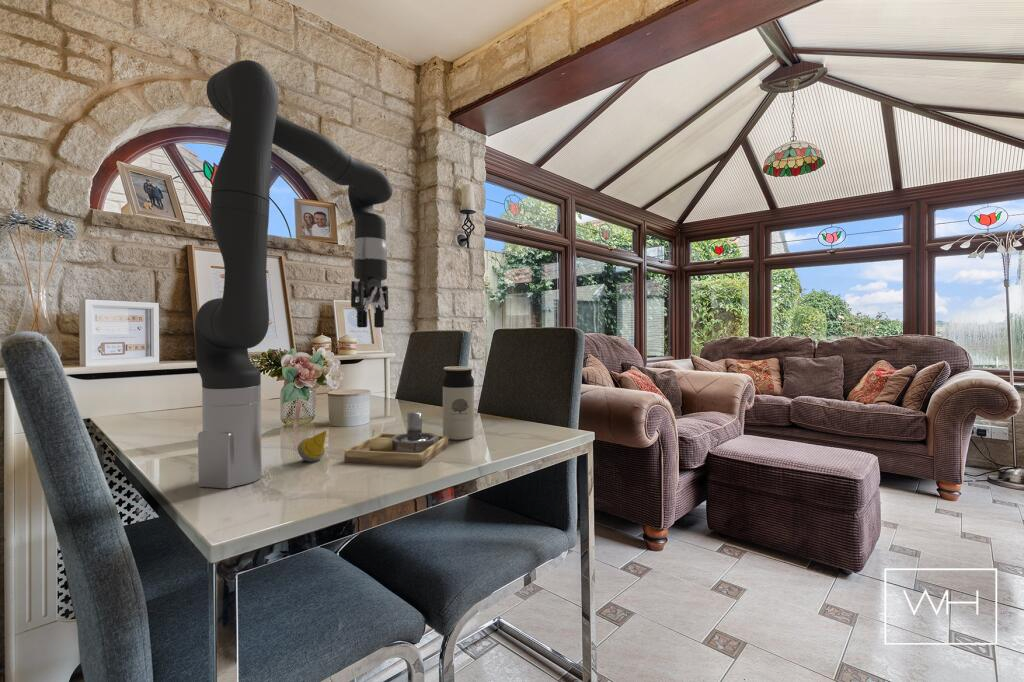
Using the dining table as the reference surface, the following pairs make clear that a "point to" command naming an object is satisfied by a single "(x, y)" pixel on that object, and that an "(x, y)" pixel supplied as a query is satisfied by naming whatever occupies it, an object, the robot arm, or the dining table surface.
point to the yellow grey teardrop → (312, 448)
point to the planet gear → (414, 427)
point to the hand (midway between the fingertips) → (370, 327)
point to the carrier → (396, 450)
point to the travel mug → (458, 403)
